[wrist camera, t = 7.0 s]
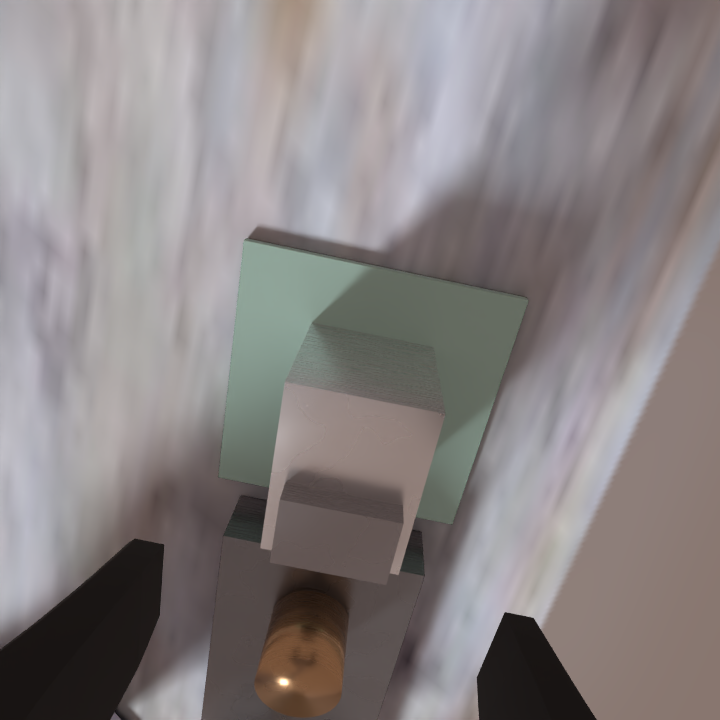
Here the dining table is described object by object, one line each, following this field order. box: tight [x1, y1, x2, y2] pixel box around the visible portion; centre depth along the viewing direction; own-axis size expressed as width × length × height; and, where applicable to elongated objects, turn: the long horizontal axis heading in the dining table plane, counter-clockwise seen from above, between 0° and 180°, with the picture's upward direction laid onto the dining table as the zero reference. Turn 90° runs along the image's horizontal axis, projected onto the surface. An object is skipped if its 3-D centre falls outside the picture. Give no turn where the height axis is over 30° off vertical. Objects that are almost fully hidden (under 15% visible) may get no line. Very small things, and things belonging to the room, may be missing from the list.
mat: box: [218, 238, 529, 525], centre depth 20 cm, size 10×10×1 cm
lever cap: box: [260, 323, 446, 585], centre depth 18 cm, size 6×4×6 cm
